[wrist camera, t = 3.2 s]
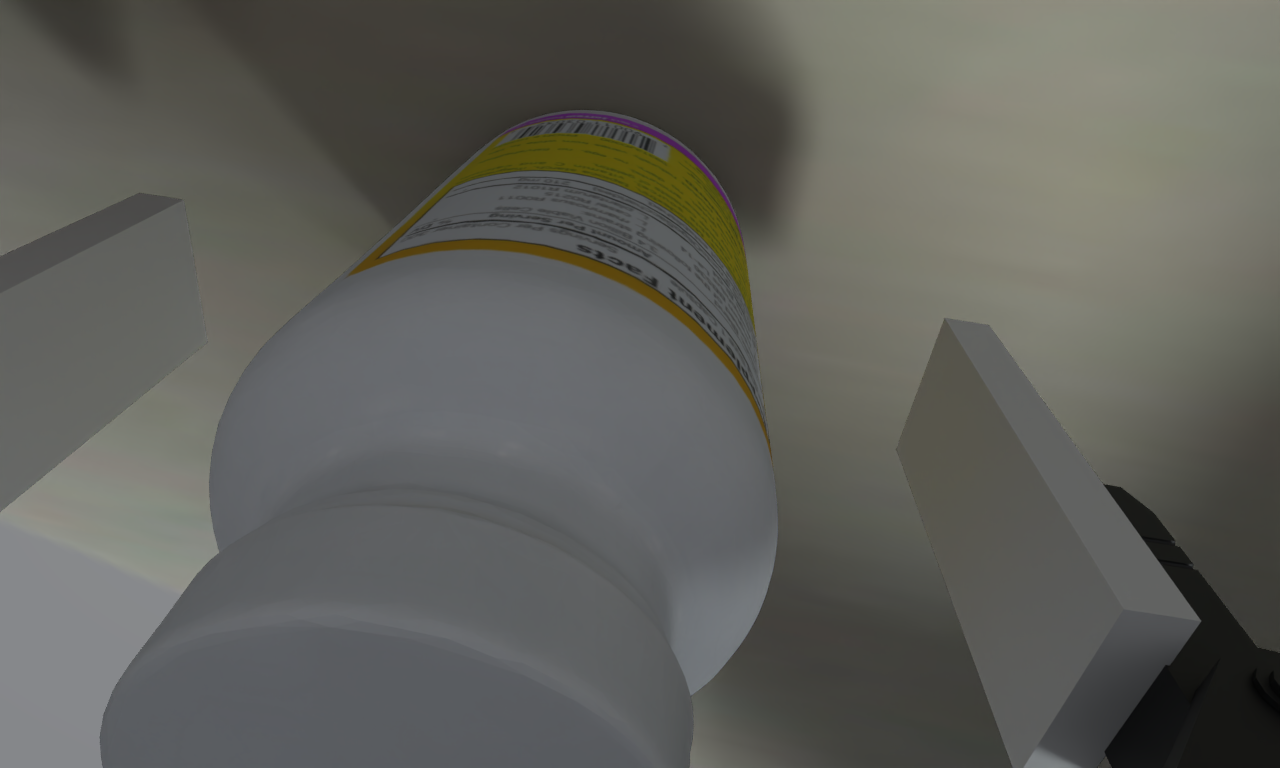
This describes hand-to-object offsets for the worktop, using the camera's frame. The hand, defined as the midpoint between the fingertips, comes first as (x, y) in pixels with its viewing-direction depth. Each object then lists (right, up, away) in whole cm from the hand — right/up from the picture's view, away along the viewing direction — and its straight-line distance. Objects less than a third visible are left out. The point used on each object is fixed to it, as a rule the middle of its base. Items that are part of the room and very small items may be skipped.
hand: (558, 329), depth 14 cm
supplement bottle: (0, +2, +4) cm, 4 cm away
